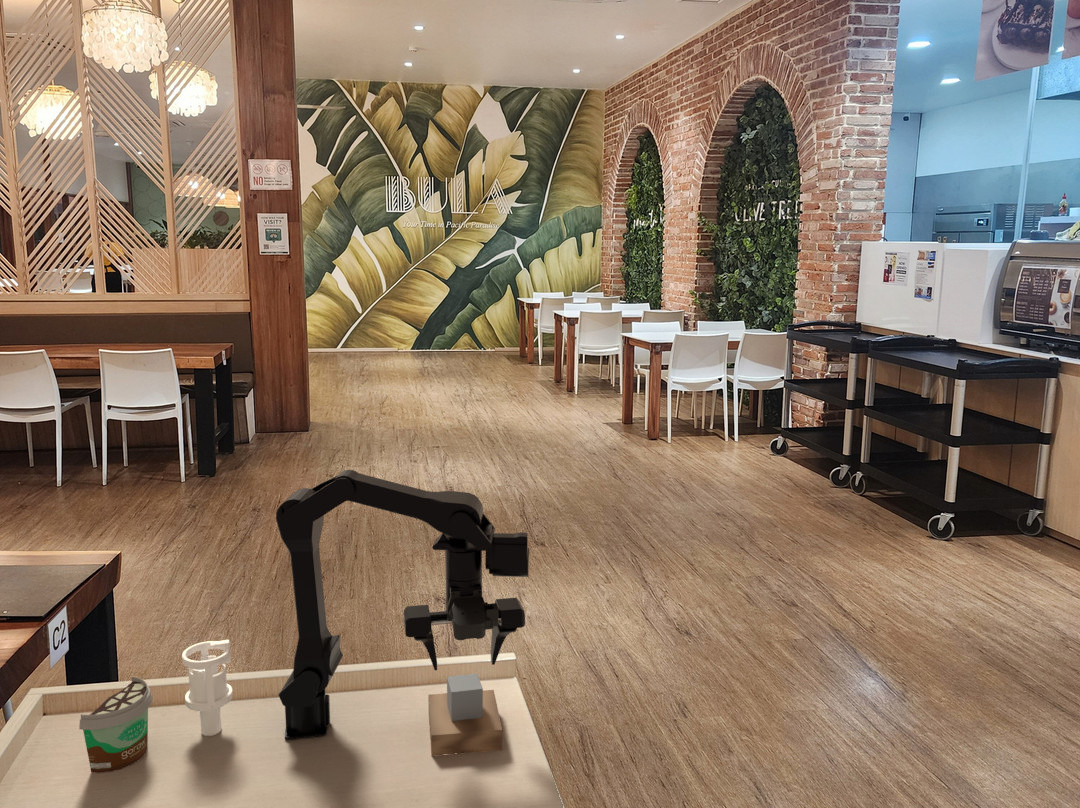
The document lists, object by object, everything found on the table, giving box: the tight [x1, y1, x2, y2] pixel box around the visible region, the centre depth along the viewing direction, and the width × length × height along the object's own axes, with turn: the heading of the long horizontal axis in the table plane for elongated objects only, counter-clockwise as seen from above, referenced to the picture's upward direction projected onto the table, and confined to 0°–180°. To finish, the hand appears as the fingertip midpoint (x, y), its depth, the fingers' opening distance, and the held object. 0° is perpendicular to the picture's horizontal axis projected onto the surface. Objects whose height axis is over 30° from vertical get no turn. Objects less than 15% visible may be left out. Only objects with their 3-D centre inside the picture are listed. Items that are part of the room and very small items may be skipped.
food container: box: [78, 676, 153, 774], centre depth 130 cm, size 12×6×10 cm, turn 168°
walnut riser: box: [427, 689, 503, 757], centre depth 138 cm, size 11×12×4 cm
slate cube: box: [446, 672, 484, 721], centre depth 138 cm, size 5×5×5 cm
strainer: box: [181, 639, 234, 737], centre depth 136 cm, size 7×7×15 cm
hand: (464, 666), depth 136 cm, fingers open, 9 cm apart
